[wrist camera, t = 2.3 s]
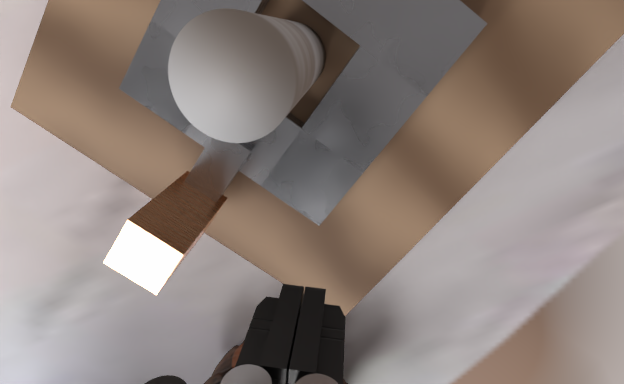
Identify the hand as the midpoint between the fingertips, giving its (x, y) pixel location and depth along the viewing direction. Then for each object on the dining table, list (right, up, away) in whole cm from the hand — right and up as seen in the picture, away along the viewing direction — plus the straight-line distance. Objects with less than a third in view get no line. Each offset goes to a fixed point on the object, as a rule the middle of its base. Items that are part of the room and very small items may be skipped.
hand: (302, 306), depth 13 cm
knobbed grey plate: (-2, +9, +5) cm, 10 cm away
